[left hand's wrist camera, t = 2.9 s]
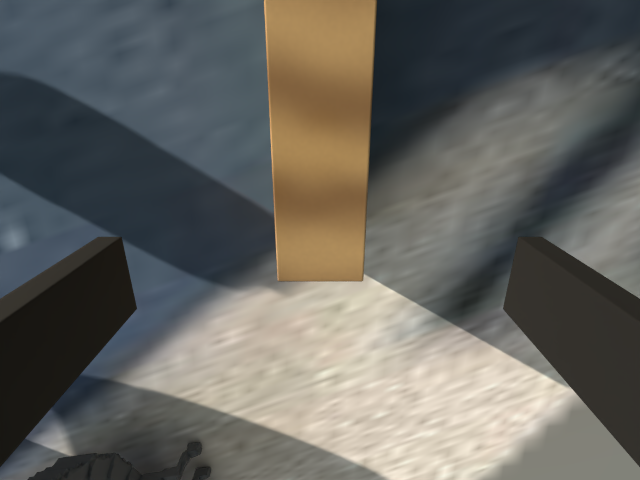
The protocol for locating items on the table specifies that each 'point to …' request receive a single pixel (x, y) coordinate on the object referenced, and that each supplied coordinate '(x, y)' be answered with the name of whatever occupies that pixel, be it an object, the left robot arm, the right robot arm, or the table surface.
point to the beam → (320, 134)
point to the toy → (116, 468)
